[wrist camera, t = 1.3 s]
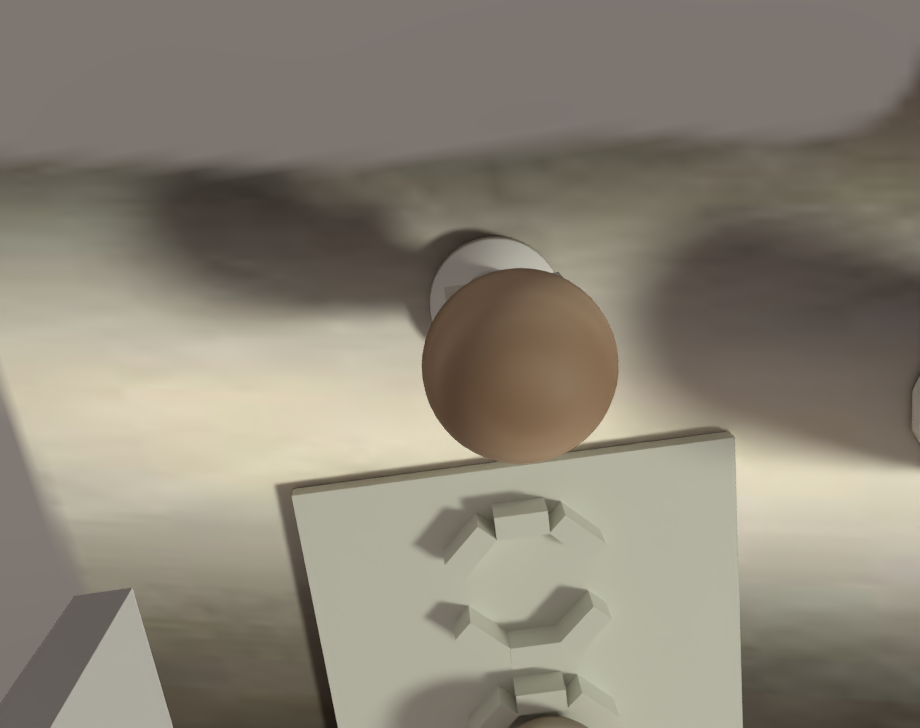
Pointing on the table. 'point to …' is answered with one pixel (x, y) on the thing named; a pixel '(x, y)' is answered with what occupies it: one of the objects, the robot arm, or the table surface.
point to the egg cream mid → (551, 723)
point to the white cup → (916, 410)
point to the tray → (533, 590)
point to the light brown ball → (520, 365)
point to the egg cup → (481, 265)
